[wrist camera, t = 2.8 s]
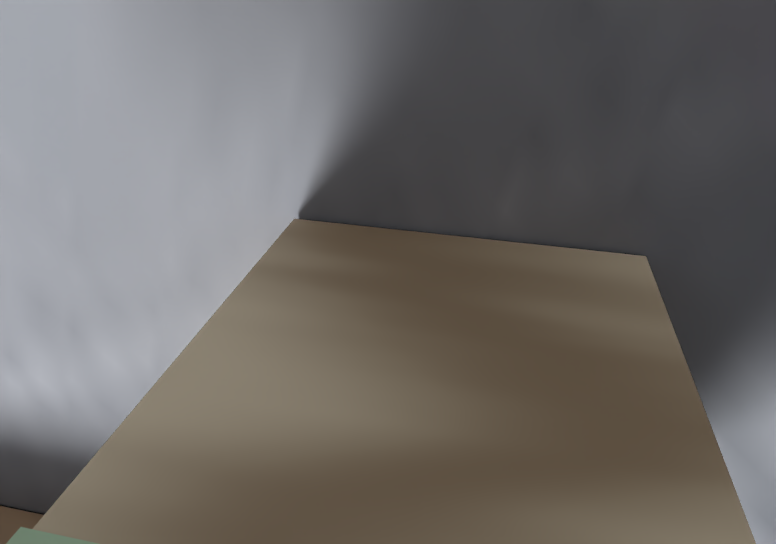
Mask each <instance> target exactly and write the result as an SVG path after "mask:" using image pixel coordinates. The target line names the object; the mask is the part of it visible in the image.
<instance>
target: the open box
mask: <svg viewBox="0 0 776 544" xmlns="http://www.w3.org/2000/svg"><path fill="white" fill-rule="evenodd" d="M43 516H44V515H42V514H37V513H32V512H27V511H22V510H18V509H13V508H8V507H3V506H0V544H6V543H7V542H8V541H9V540H10V539H11V537H12V536H13V535H14V534H15V533H16V532H17V530H18V529H19V528H20V527H24V528H29V529H33V528H34V526H35V525H36V524H37V523H38V522H39V520H40V519H41V518H42V517H43Z"/></svg>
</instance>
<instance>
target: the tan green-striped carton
mask: <svg viewBox="0 0 776 544" xmlns="http://www.w3.org/2000/svg"><path fill="white" fill-rule="evenodd" d="M6 544H756V543H755V540H754V537H753V535H752V532H751V530H750V527H749V524H748V522H747V519H746V516H745V514H744V511H743V509H742V506H741V503H740V501H739V498H738V496H737V493H736V490H735V488H734V485H733V482H732V480H731V477H730V475H729V472H728V469H727V467H726V464H725V462H724V459H723V456H722V454H721V451H720V448H719V446H718V443H717V441H716V438H715V435H714V433H713V430H712V428H711V425H710V422H709V420H708V417H707V414H706V412H705V409H704V407H703V404H702V401H701V399H700V396H699V394H698V391H697V388H696V386H695V383H694V381H693V378H692V375H691V373H690V370H689V367H688V365H687V362H686V360H685V357H684V354H683V352H682V349H681V347H680V344H679V341H678V339H677V336H676V333H675V331H674V328H673V326H672V323H671V320H670V318H669V315H668V313H667V310H666V307H665V305H664V302H663V299H662V297H661V294H660V292H659V289H658V286H657V284H656V281H655V279H654V276H653V273H652V271H651V268H650V265H649V263H648V260H647V258H646V256H640V255H630V254H621V253H612V252H602V251H593V250H583V249H574V248H565V247H555V246H546V245H537V244H527V243H518V242H508V241H499V240H490V239H480V238H471V237H461V236H452V235H443V234H433V233H424V232H414V231H405V230H396V229H386V228H377V227H367V226H358V225H349V224H339V223H330V222H320V221H311V220H302V219H294V220H293V221H292V222H291V223H290V224H289V226H288V227H287V228H286V229H285V230H284V232H283V233H282V234H281V235H280V236H279V238H278V239H277V240H276V241H275V242H274V243H273V245H272V246H271V247H270V248H269V249H268V251H267V252H266V253H265V254H264V255H263V256H262V258H261V259H260V260H259V261H258V262H257V264H256V265H255V266H254V267H253V268H252V269H251V271H250V272H249V273H248V274H247V275H246V277H245V278H244V279H243V280H242V281H241V282H240V284H239V285H238V286H237V287H236V288H235V290H234V291H233V292H232V293H231V294H230V296H229V297H228V298H227V299H226V300H225V301H224V303H223V304H222V305H221V306H220V307H219V309H218V310H217V311H216V312H215V313H214V314H213V316H212V317H211V318H210V319H209V320H208V322H207V323H206V324H205V325H204V326H203V327H202V329H201V330H200V331H199V332H198V333H197V335H196V336H195V337H194V338H193V339H192V340H191V342H190V343H189V344H188V345H187V346H186V348H185V349H184V350H183V351H182V352H181V354H180V355H179V356H178V357H177V358H176V359H175V361H174V362H173V363H172V364H171V365H170V367H169V368H168V369H167V370H166V371H165V372H164V374H163V375H162V376H161V377H160V378H159V380H158V381H157V382H156V383H155V384H154V385H153V387H152V388H151V389H150V390H149V391H148V393H147V394H146V395H145V396H144V397H143V399H142V400H141V401H140V402H139V403H138V404H137V406H136V407H135V408H134V409H133V410H132V412H131V413H130V414H129V415H128V416H127V417H126V419H125V420H124V421H123V422H122V423H121V425H120V426H119V427H118V428H117V429H116V430H115V432H114V433H113V434H112V435H111V436H110V438H109V439H108V440H107V441H106V442H105V443H104V445H103V446H102V447H101V448H100V449H99V451H98V452H97V453H96V454H95V455H94V457H93V458H92V459H91V460H90V461H89V462H88V464H87V465H86V466H85V467H84V468H83V470H82V471H81V472H80V473H79V474H78V475H77V477H76V478H75V479H74V480H73V481H72V483H71V484H70V485H69V486H68V487H67V488H66V490H65V491H64V492H63V493H62V494H61V496H60V497H59V498H58V499H57V500H56V501H55V503H54V504H53V505H52V506H51V507H50V509H49V510H48V511H47V512H46V513H45V515H44V516H43V517H42V518H41V519H40V520H39V522H38V523H37V524H36V525H35V526H34V528H33V529H29V528H24V527H20V528H19V529H18V530H17V532H16V533H15V534H14V535H13V536H12V537H11V539H10V540H9V541H8V542H7V543H6Z"/></svg>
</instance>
